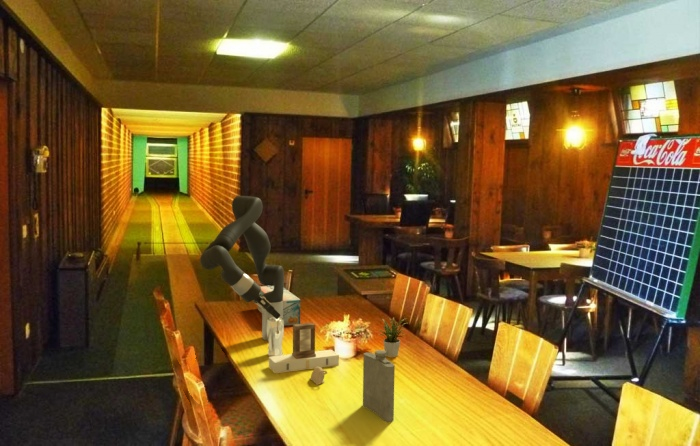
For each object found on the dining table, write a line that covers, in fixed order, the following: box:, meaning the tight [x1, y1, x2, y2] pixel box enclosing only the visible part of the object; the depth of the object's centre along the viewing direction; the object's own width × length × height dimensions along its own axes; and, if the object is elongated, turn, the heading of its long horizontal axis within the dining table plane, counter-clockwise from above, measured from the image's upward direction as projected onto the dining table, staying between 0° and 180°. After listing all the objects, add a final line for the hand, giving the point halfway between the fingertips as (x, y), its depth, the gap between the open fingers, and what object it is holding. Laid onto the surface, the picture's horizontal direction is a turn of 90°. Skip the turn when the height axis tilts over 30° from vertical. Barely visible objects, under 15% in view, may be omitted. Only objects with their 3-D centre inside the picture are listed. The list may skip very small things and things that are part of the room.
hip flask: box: [362, 349, 396, 423], centre depth 202 cm, size 16×4×20 cm, turn 29°
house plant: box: [378, 316, 408, 358], centre depth 262 cm, size 14×14×16 cm
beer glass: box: [267, 317, 285, 357], centre depth 261 cm, size 7×7×15 cm
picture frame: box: [291, 322, 316, 359], centre depth 246 cm, size 8×5×12 cm, turn 114°
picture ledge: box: [268, 349, 340, 374], centre depth 247 cm, size 26×8×4 cm, turn 114°
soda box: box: [257, 285, 301, 327], centre depth 325 cm, size 41×14×13 cm, turn 20°
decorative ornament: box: [309, 367, 328, 386], centre depth 230 cm, size 4×8×5 cm, turn 25°
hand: (275, 314), depth 241 cm, fingers open, 8 cm apart
